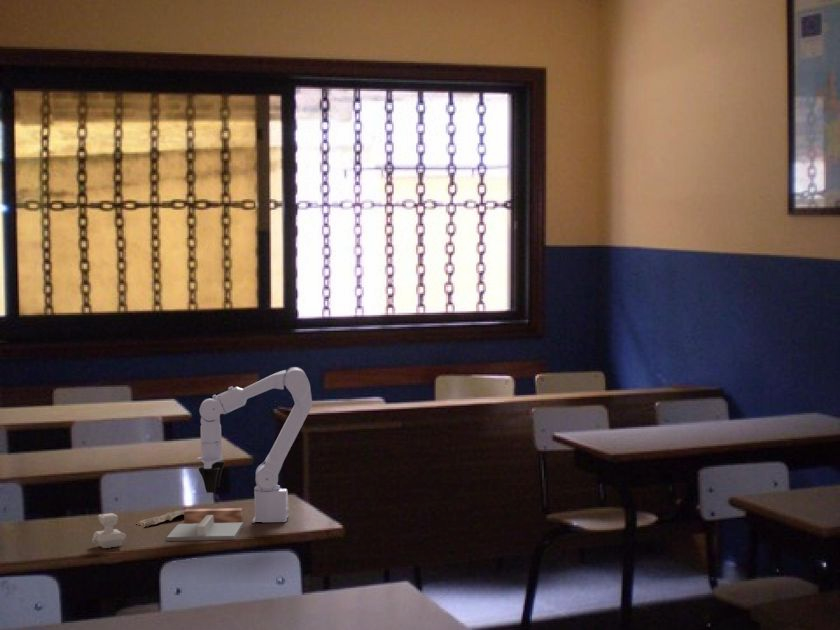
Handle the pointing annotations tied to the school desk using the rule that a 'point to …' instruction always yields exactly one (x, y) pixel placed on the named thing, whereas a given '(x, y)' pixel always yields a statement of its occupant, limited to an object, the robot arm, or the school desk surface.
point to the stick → (219, 515)
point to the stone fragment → (161, 518)
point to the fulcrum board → (211, 535)
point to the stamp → (108, 532)
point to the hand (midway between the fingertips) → (212, 489)
